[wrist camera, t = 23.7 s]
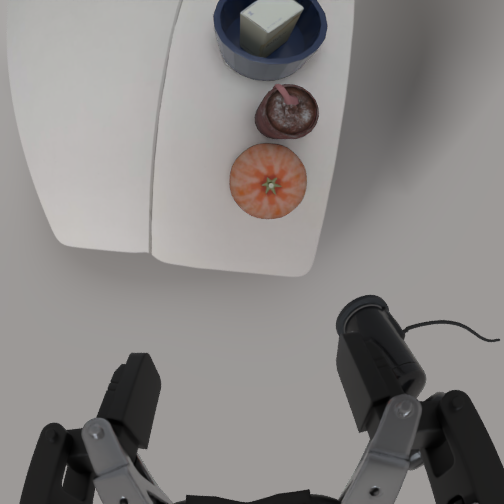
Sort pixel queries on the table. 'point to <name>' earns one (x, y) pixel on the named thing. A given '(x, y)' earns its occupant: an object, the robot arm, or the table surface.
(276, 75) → the pot
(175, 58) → the table surface
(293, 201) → the tomato
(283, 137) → the rusty soda tin
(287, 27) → the cosmetic box
